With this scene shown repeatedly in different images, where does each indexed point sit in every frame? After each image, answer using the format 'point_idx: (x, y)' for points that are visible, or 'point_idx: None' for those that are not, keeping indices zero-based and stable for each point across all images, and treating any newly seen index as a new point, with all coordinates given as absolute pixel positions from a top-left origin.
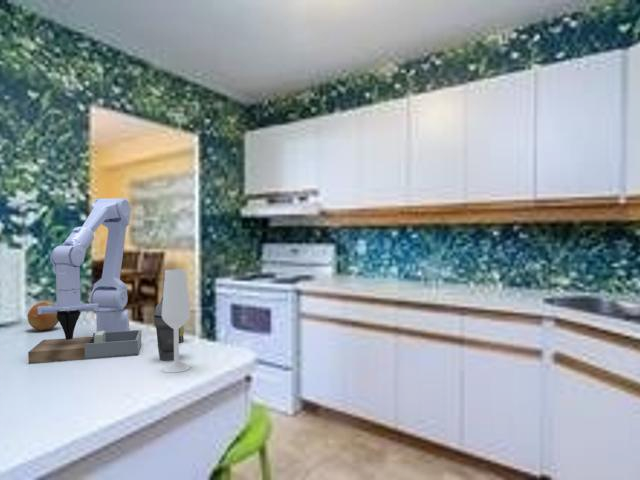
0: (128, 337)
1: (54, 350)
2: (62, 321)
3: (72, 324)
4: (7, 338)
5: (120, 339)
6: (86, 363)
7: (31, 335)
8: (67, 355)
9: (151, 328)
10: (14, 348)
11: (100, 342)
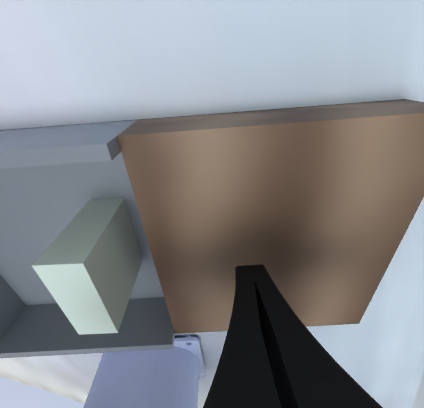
0: (48, 324)
1: (304, 121)
2: (334, 393)
3: (234, 358)
4: (415, 382)
5: None
6: (84, 8)
7: None
8: (222, 118)
9: None
10: (416, 317)
11: (72, 229)
